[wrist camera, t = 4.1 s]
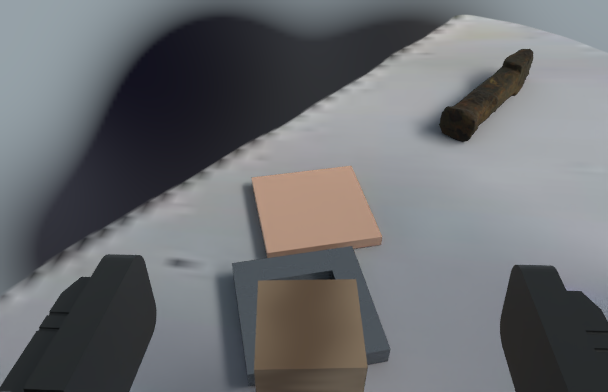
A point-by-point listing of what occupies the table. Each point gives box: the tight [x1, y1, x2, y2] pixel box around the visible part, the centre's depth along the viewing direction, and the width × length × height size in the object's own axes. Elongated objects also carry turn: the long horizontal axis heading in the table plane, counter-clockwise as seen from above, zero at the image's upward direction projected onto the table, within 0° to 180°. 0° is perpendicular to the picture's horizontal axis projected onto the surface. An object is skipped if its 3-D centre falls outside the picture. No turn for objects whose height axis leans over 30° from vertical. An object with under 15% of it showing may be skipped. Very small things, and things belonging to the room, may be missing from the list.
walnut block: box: [254, 279, 368, 392], centre depth 30 cm, size 5×5×13 cm
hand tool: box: [439, 49, 533, 141], centre depth 63 cm, size 19×4×5 cm, turn 137°
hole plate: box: [232, 246, 390, 386], centre depth 41 cm, size 10×10×2 cm
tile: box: [252, 166, 382, 258], centre depth 50 cm, size 10×10×1 cm
